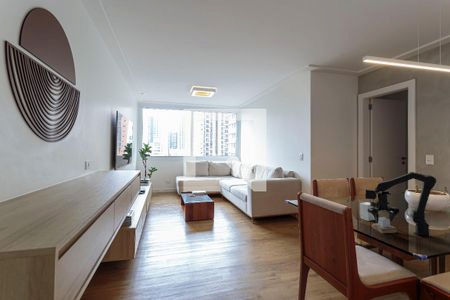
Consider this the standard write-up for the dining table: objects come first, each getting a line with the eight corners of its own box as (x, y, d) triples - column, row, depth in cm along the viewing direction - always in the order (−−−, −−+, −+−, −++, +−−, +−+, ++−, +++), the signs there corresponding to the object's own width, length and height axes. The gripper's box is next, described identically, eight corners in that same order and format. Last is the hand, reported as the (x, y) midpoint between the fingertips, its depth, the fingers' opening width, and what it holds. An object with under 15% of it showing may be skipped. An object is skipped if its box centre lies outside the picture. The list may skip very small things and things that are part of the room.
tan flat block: (396, 232, 151) (396, 228, 151) (381, 233, 151) (381, 228, 151) (386, 227, 161) (386, 222, 161) (372, 227, 161) (372, 223, 161)
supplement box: (368, 221, 174) (367, 205, 174) (360, 218, 181) (359, 202, 181) (375, 219, 176) (374, 203, 176) (367, 217, 183) (366, 201, 183)
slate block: (390, 226, 153) (389, 219, 153) (382, 227, 153) (382, 220, 153) (385, 224, 158) (384, 217, 158) (377, 224, 158) (377, 217, 158)
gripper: (388, 196, 163) (389, 217, 164) (362, 198, 164) (363, 219, 164) (399, 200, 152) (400, 223, 152) (372, 202, 152) (373, 224, 153)
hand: (383, 222), depth 156 cm, fingers open, 9 cm apart
